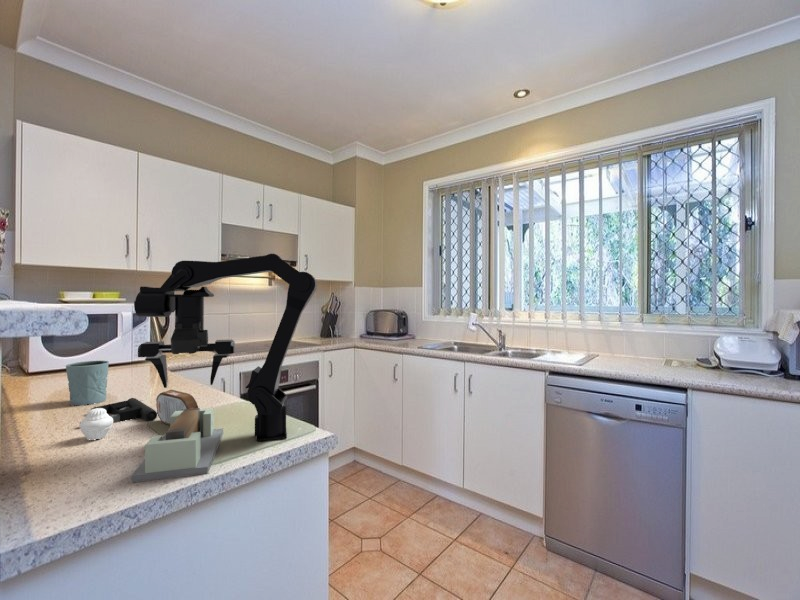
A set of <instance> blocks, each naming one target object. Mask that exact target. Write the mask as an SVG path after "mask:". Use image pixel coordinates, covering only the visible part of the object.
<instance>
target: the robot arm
mask: <svg viewBox="0 0 800 600" xmlns="http://www.w3.org/2000/svg"><path fill="white" fill-rule="evenodd" d="M269 272H270V273H271V272H272V273H274V274H275V275H276V276H277V277H278V278H280V279H281V280H282V281H284V282H286V284H288V289H287V294H286V302H285V303H286V305H285V309H284V312H283V314H282V317H281V319H280V322H279V325H278V327H277V330H276V332H275V334H274V337H273V340H272V343H271V345H270V348H269V351H268V352H267V356H266V358H265V361H264V363H263V365H262V366H261V367H260V366H257V367H255V368H254V369H253V370H252V371H251V374H250V379H249V382H248V384H247V385H246V386H245V387H244V388H245V389H247V392H246V397H247V399H248V401H249V402H250V404H252V405H253V406H254V408H255V411H256V415H255V416H254V436H255V437H256V442H263V441H272V440H282V439H287V436H288V435H287V434H288V433H287V406H286V405H285V404H286V402H287V399H288V395H287V394H286V393H285V392H284V391H283V390H282V389H281V388H280V387H279V386H280V380H281V374H282V373H281V372H282V365H283V363H284V361H285V357H286V356H287V353H288V350H289V347H290V345H291V342H292V340H293V337H294V334H295V332H296V330H297V326H298V325H299V321H300V319H301V316H302V313H303V311H304V310H305V308H306V307H307V306H308V304H309V303H310V302H311V299H312V297H313V296H314V294H315V292H316V291H317V289H318V282H317V279H316V278H315V277H314V276H313V275H312V274H311V273H309V272H308V271H299V270H298V269H296V268H295V267H294V266H292V265H290V264H289V263H288V262H286V261H285V260H284V259H283V258H282V257H281V255H278V254H276V253H268V254H266V255H258V256H251V257H250V256H249V257H243V258H237V259H236V258H234V259H229V260H223V261H222V260H220V261H203V260H180V261H178V262H175V265H174V266H173V267H172V269H171V274H170V275H169V276H168V278H167V279H166V280H165V281H164V282H163V283H162V284H161V286H160V287H153V286H140V287H139V292H138V293H137V295H136V297H135V300H134V302H133V306H134V311H135V314H136V316H138V317H140V318H169V317H170V316H171V314H172V313H174V329H173V332H172V336H171V338H170V344H165V341H163V340H162V341H145V342H143V343H141V344H140V345H139V346H138V348H137V358H144V360H145V361H146V362H150V363H151V364H152V365H153V366H154V367H155V369H156V371H157V373H158V375H159V378H160V382H161V384H162V386H163V388H164V389H166V388H168V382H169V380H168V379H169V378H168V368H167V363H168V362H167V355H166V354H167V353H169V354H170V353H171V354H173V355H180V354H196V353H197V352H214V354H213V355H212V356H213V357H212V365H211V366H212V367H211V372H210V386H213V384H214V381H215V378H216V375H217V373H218V369H219V368H220V364H221V363H222V360H223V359H224V358H225V359H226V358H228V357H229V355H233V354H234V353H235V350H236V349H235V344H236V343H235V340H234V339H216V340H215V341H214V342H213V343H212V342H210V343H209V330H208V329H205V328H204V324H205V323H204V322H205V321H204V320H205V318H204V314H205V307H204V306H205V303H204V302H205V298H213V297H214V293H212V291H210V290H209V289H208V287H207V285H209V284H212V283H214V282H217V281H219V280H222V279H226V278H227V279H228V278H236V277H242V276H249V275H257V274H263V273H269ZM199 287H200V288H199ZM191 288H199V289H191ZM175 292H183V293H182V294H175ZM164 353H165V354H164Z"/></svg>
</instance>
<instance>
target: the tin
mask: <svg viewBox="0 0 800 600" xmlns="http://www.w3.org/2000/svg"><path fill="white" fill-rule="evenodd" d="M155 405H156V413H157V417H158V418H159V420H160V421H161V422H162V424H166V425H169V426H170V417H171V415H172V414H173V413H174V412H175V411H184V410H185V409H193V408H199V405H198V402H197V400H196V398H195V397H194V396H193V395H192V394H190V393H187V392H183V391H178V390H174V389H168V390H166V391H163V392H160V393H159V394H158V395H157V396H156V404H155Z"/></svg>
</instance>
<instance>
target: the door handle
mask: <svg viewBox="0 0 800 600" xmlns="http://www.w3.org/2000/svg"><path fill="white" fill-rule="evenodd" d="M143 401H144V400H139V399H137V398H134V397H131V398H128V399H126V400H123V401H118V402H115V403H108V404H104V405H100V406H94V407H91V408H90V410H92V409H95V408H103V409H105V410H106V411H107V412H106V413H107V414H110V416H111V417H112V418H113V422H114V423H117V422H116V421H119V422H120V421H122V422H126V421H125V420H127V421H131V420H130V419H132V420H137V419H141V418H142V419H144V420H145V421H147V422H149V421H150V422H153V421H155V420H156V419H157V417H158V414H157V410H155V409H154V408H152V407H150V406H148V405H147V404H145V403H144V402H143ZM136 418H137V419H136ZM81 422H82V421H81ZM81 422H79V424H80V423H81Z"/></svg>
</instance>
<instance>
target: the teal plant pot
mask: <svg viewBox="0 0 800 600" xmlns="http://www.w3.org/2000/svg"><path fill="white" fill-rule="evenodd" d="M109 363H110V362H109V361H108V360H88V361H87V360H86V361H79V362H78V361H77V362H72V363H68V364H66V365H65V371H66V377H67V378H66V379H67V381H68V384H67V385H68V392H69V403H70V406H73V405H84V406H88V405H87V404H92V405H95V404H94V403H97V404H100V402H101V403H103V401H104V402H105V401H107V387H108V386H107V385H108V378H107V377H108V375H109Z"/></svg>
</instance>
